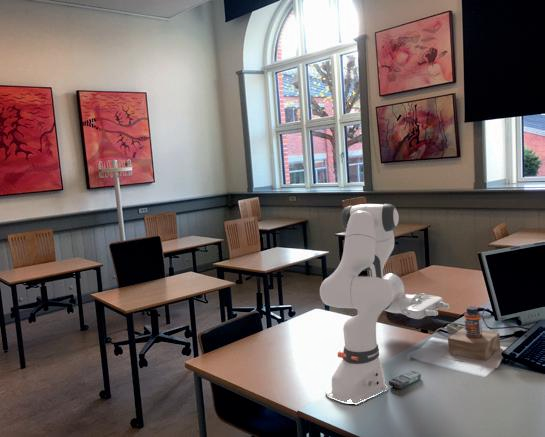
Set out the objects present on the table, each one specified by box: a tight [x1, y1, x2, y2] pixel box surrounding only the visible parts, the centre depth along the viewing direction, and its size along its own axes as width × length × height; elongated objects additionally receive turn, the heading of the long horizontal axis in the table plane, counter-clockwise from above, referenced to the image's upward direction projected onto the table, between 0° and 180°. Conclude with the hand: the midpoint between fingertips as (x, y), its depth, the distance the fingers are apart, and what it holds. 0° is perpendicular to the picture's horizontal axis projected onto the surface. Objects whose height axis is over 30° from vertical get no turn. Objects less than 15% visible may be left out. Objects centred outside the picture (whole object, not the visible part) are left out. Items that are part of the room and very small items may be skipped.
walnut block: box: [447, 326, 501, 362], centre depth 190 cm, size 14×14×6 cm
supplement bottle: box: [463, 305, 483, 338], centre depth 189 cm, size 6×6×11 cm
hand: (443, 309), depth 197 cm, fingers open, 8 cm apart
